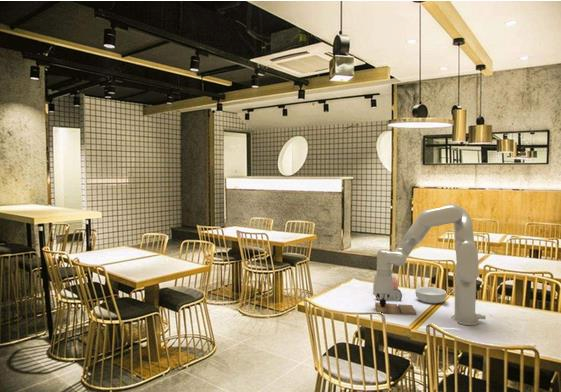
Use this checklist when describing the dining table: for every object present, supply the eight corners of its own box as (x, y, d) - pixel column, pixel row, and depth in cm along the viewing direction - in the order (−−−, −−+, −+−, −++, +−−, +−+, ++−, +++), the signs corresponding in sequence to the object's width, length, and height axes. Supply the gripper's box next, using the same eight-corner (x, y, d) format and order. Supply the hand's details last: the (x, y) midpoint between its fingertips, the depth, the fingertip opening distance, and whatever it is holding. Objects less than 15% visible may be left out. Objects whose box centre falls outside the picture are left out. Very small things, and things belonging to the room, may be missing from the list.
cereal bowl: (427, 296, 245) (427, 284, 245) (452, 303, 231) (452, 291, 231) (408, 301, 236) (409, 289, 235) (433, 309, 222) (433, 296, 221)
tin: (401, 301, 234) (401, 287, 234) (402, 303, 231) (402, 289, 231) (374, 300, 236) (375, 286, 235) (375, 302, 233) (375, 288, 232)
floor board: (412, 309, 221) (412, 304, 221) (417, 317, 208) (417, 312, 208) (371, 307, 224) (371, 302, 224) (374, 315, 211) (374, 310, 211)
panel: (396, 306, 222) (396, 304, 222) (399, 314, 210) (400, 311, 210) (375, 304, 223) (375, 302, 223) (377, 312, 211) (377, 309, 211)
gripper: (397, 271, 219) (395, 304, 220) (368, 270, 221) (367, 303, 222) (399, 275, 211) (398, 309, 212) (370, 273, 213) (369, 307, 214)
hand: (382, 306), depth 217 cm, fingers closed
